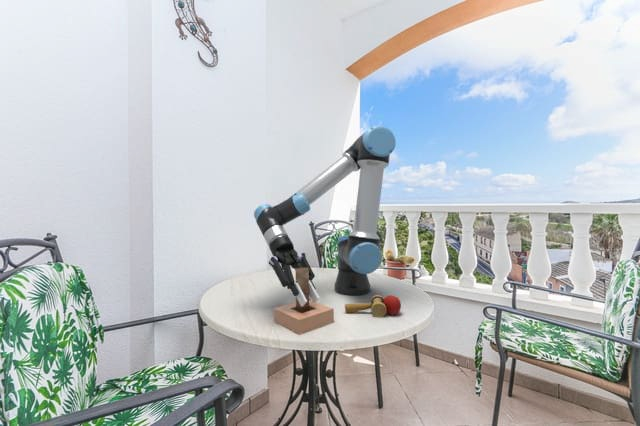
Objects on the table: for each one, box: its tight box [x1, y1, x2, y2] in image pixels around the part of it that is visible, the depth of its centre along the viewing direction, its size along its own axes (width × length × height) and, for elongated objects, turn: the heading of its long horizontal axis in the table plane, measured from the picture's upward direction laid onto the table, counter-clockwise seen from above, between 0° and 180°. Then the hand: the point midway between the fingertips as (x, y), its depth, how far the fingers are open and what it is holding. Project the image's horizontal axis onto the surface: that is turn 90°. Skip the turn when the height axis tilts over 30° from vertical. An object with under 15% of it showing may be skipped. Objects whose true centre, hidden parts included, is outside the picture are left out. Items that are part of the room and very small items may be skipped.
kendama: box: [344, 294, 402, 318], centre depth 94 cm, size 8×6×18 cm
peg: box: [294, 268, 310, 313], centre depth 88 cm, size 4×4×14 cm
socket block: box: [273, 299, 335, 335], centre depth 88 cm, size 13×13×4 cm
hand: (310, 302), depth 85 cm, fingers closed on peg, 4 cm apart
